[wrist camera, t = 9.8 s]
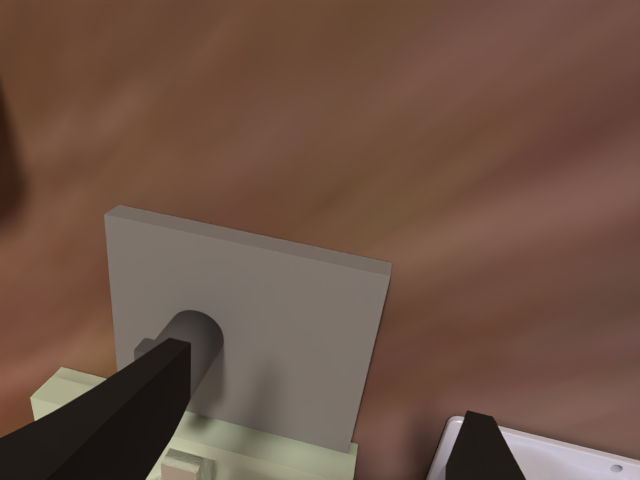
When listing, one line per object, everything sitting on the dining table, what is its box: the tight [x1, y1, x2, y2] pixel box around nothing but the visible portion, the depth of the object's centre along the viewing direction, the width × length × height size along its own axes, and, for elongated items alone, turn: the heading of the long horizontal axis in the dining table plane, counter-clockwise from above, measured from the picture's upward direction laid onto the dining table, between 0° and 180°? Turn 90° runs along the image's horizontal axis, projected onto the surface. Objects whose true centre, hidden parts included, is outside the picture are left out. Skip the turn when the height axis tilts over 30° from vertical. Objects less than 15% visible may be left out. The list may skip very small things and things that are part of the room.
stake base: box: [104, 205, 392, 454], centre depth 21 cm, size 13×11×6 cm
